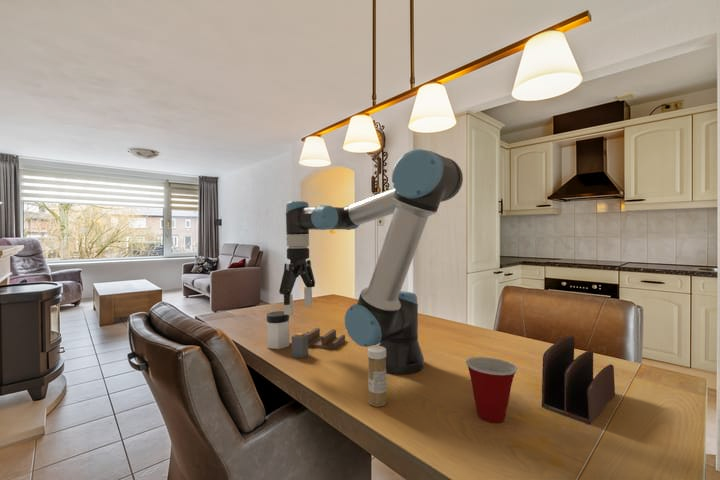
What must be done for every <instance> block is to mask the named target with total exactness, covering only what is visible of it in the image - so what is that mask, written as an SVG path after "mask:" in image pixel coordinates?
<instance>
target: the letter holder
mask: <svg viewBox="0 0 720 480" xmlns="http://www.w3.org/2000/svg"><path fill="white" fill-rule="evenodd" d="M541 372H542V373H541V374H542V376H541V377H542V379H541V383H542V384H541V408H542V409H545V410H547V411H550V412H554V413H556V414H559V415H562V416H564V417H567V418H570V419H573V420H576V421H579V422H581V423H584V424H586V425H592V424H593V422H594V421H595V420H596V419H597V417H598V416H599V415H600V414H601V413H602V411H603V410H604V409H605V407H607V405H608V404H609V403H610V401H611V400H612V399H613V398H614V396H615V395H616V385H615V366H614V365H613V364H610V363H609V364H608V365H606V366H605V367H603V368H602V369H601V370H600V371H599V372H598V373H597V374H596V375H595V377H594V351H593V350H587V351H584V352H583V353H581V354H579V355H578V356H577V357H576V358H575V336H574V335H567V336H565V337H563V338H560V339H559V340H558V341H556V342H555V343H554V344H552V345H551V346H549V347H548V348H547V349H546V351H545V352H544V353H543V356H542V371H541Z"/></svg>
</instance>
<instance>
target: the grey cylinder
mask: <svg viewBox="0 0 720 480" xmlns="http://www.w3.org/2000/svg"><path fill="white" fill-rule="evenodd" d="M305 333H306V332H297V333H295V334H293V335H291V357H292V358H295V359H304V358H305V357H307V356H308V355H309V347H308V334H305Z"/></svg>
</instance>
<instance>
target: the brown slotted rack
mask: <svg viewBox="0 0 720 480" xmlns="http://www.w3.org/2000/svg"><path fill="white" fill-rule="evenodd" d="M320 330H321V329H320V328H319V327H316V328H314V329H312V330H311V331H307V332H304V333H305V334H308V348H309V347H310V348H318V349H319V348H320V349H326V350H327V349H329V350H336V349H337V348H338V347H340V346H341V345H342V344H343V343H344V342H345V341H346V335H345V334H341V335H340V336H338V337H337V330H336V329H330V330H329V331H328V332H326V333H325V334H324V335H321V333H320Z"/></svg>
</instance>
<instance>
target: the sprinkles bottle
mask: <svg viewBox="0 0 720 480" xmlns="http://www.w3.org/2000/svg"><path fill="white" fill-rule="evenodd" d="M367 358H368V369H367V370H368V376H367V377H368V378H367V379H368V383H367V384H368V403H369V405H370V406H372V407H382V406H383V407H384V406H385V405H386V404H387V372H386V348H385V347H382V346H379V345H373V346H370V347H367Z"/></svg>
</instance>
